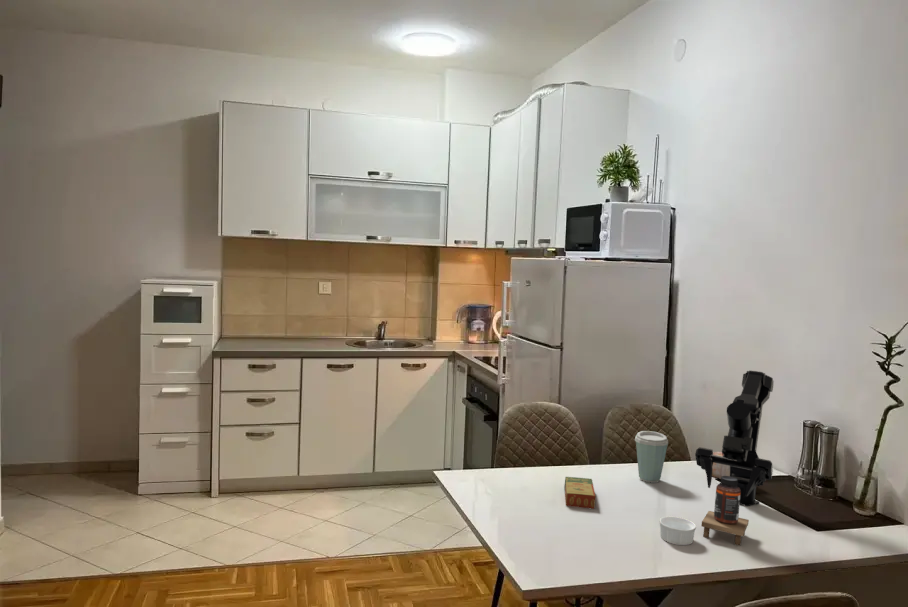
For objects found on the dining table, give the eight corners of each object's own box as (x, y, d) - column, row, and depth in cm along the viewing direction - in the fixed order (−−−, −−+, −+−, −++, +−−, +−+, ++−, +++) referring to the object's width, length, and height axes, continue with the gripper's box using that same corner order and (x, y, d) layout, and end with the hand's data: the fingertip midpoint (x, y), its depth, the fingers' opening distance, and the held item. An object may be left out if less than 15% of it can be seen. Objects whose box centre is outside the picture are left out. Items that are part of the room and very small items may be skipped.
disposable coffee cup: (669, 486, 216) (673, 439, 215) (635, 484, 216) (639, 437, 215) (660, 475, 227) (663, 431, 226) (627, 473, 227) (631, 429, 226)
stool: (707, 525, 185) (708, 510, 184) (747, 534, 180) (748, 519, 179) (700, 536, 176) (701, 521, 176) (741, 547, 171) (743, 531, 171)
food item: (704, 474, 232) (707, 446, 231) (724, 473, 234) (726, 445, 234) (733, 488, 219) (736, 458, 218) (753, 487, 221) (756, 457, 221)
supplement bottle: (743, 523, 176) (747, 480, 176) (725, 525, 174) (729, 482, 173) (725, 515, 182) (729, 473, 181) (708, 517, 179) (712, 475, 179)
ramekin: (690, 549, 168) (691, 532, 167) (654, 540, 172) (655, 523, 172) (698, 538, 175) (699, 522, 175) (663, 529, 180) (664, 513, 180)
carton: (565, 507, 193) (566, 492, 192) (563, 488, 209) (564, 475, 208) (595, 510, 192) (596, 495, 191) (591, 491, 207) (592, 477, 207)
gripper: (699, 417, 184) (687, 466, 175) (775, 430, 175) (765, 483, 166) (703, 440, 191) (691, 489, 183) (776, 454, 182) (767, 505, 173)
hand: (727, 491), depth 176 cm, fingers open, 9 cm apart
